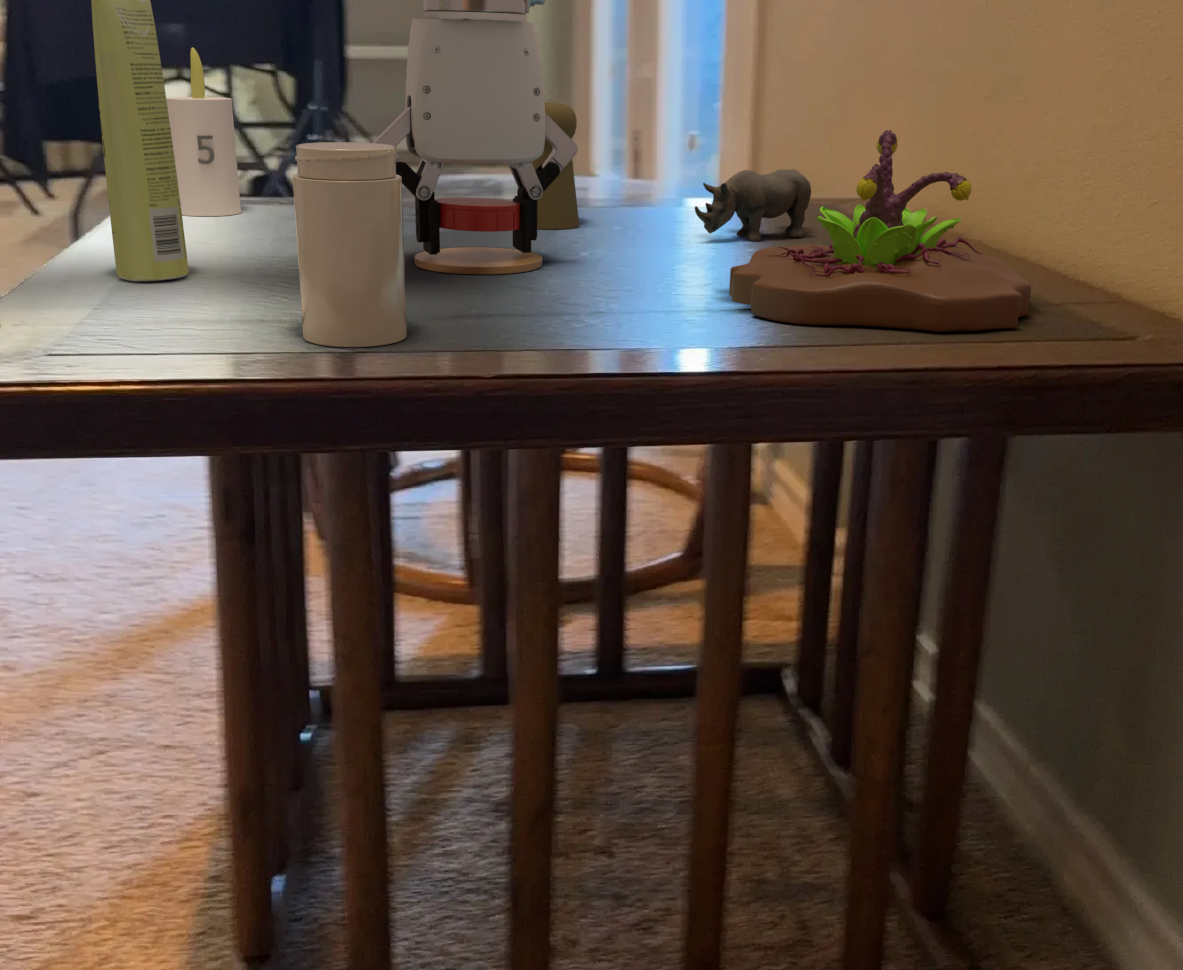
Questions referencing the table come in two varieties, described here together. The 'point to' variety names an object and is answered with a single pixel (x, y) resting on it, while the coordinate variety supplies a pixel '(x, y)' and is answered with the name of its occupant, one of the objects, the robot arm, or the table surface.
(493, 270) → the coaster
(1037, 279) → the table surface
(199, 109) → the candle
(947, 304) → the plant
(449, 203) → the lid
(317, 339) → the jar
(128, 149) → the tube
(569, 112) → the pepper shaker
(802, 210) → the rhino figurine
